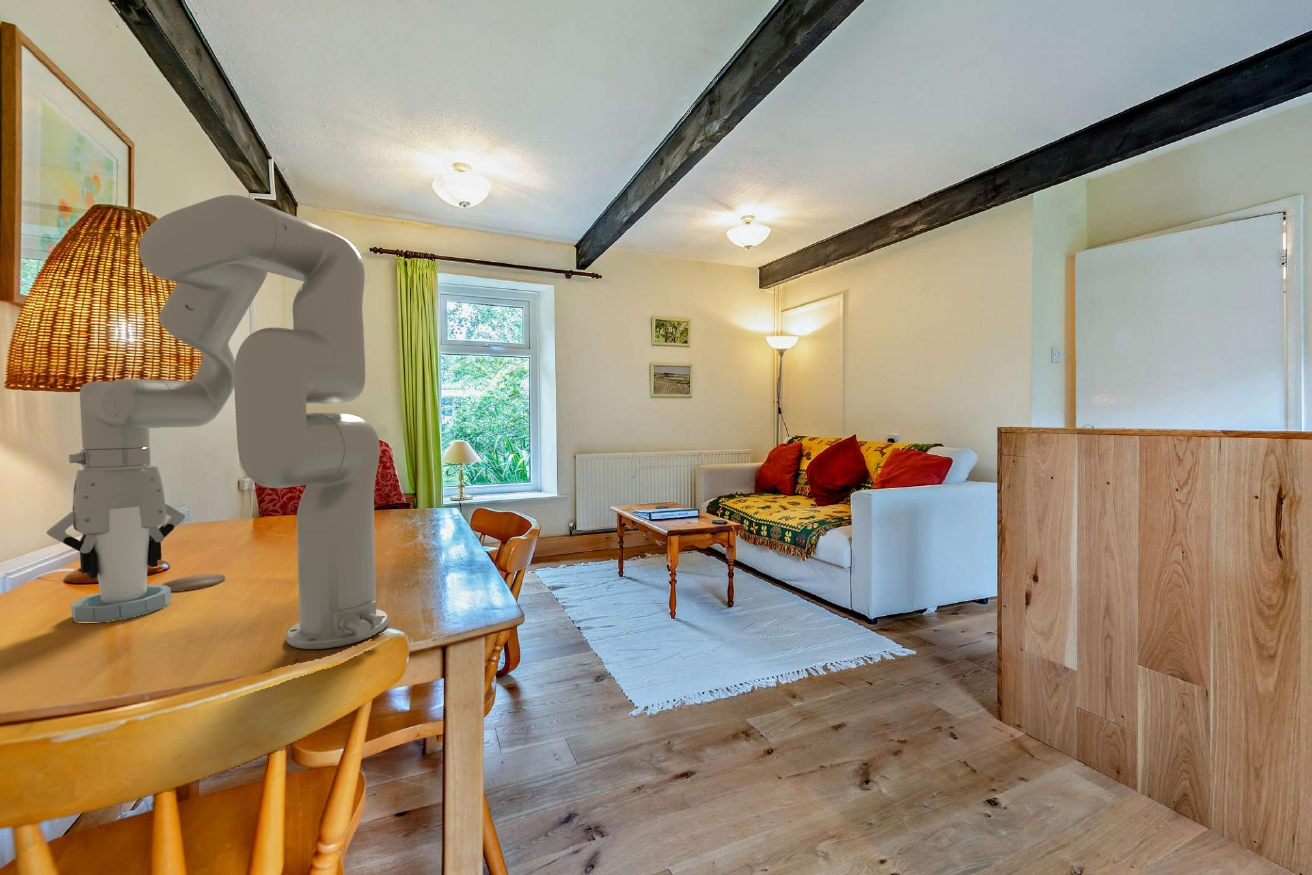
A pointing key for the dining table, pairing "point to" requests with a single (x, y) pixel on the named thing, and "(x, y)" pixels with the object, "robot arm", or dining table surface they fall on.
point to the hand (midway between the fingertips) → (123, 569)
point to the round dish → (120, 606)
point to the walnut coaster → (195, 582)
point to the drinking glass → (123, 556)
